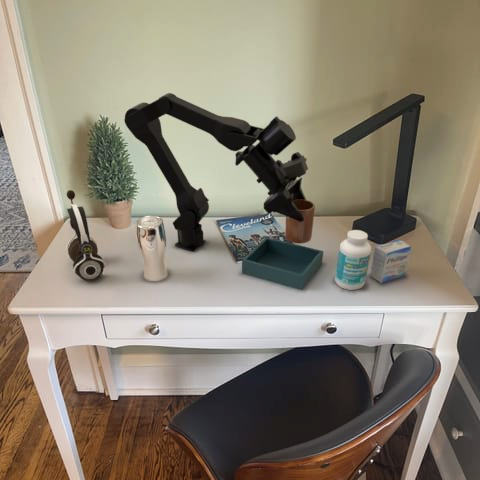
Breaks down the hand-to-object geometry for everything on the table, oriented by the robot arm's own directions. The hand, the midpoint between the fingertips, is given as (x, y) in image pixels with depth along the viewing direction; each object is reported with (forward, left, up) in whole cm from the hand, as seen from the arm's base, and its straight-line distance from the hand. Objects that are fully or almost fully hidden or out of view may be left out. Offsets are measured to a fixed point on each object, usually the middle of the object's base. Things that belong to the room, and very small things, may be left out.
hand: (305, 214), depth 124 cm
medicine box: (+22, +4, -14) cm, 26 cm away
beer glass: (-29, -26, -14) cm, 41 cm away
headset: (-45, -33, -14) cm, 58 cm away
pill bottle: (+15, -4, -14) cm, 21 cm away
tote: (-3, -6, -13) cm, 15 cm away
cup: (-1, 0, -6) cm, 7 cm away
